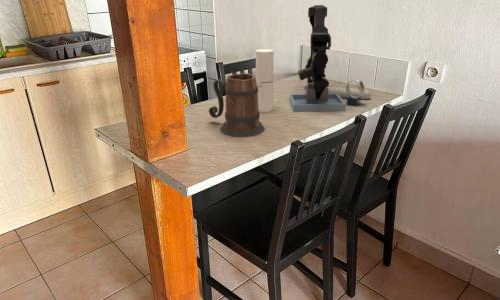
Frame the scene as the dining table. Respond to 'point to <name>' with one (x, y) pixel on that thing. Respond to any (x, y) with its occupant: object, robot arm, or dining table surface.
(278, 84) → the dining table surface
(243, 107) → the tankard
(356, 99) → the watch
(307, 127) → the dining table surface
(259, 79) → the cylindrical container
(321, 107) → the tray
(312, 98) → the caddy
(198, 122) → the dining table surface
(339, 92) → the tube
